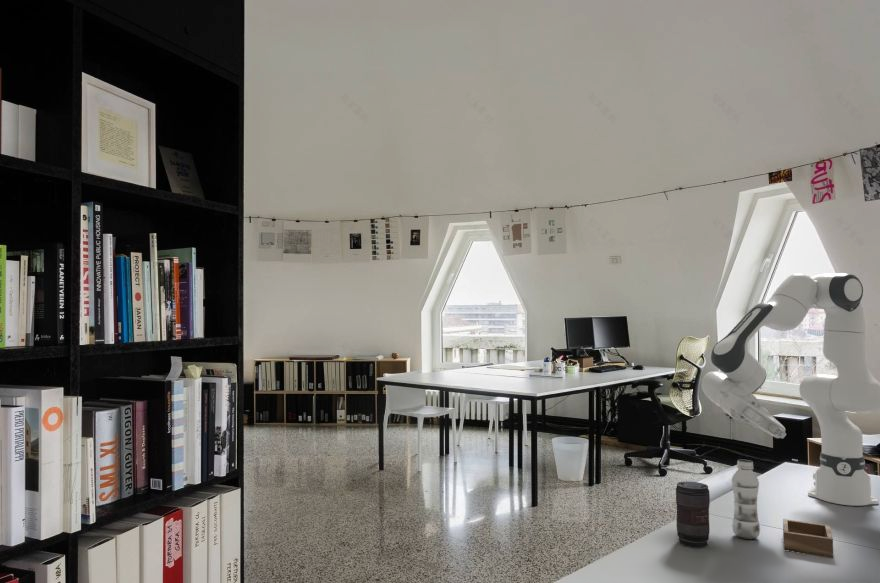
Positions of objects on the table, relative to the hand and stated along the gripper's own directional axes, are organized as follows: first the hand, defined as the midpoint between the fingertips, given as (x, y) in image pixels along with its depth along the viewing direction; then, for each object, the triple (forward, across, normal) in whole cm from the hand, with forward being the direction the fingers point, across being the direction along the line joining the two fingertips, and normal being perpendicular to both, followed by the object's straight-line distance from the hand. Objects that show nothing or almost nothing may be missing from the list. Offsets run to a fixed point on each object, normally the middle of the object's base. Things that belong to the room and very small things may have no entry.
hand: (771, 428), depth 175 cm
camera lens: (+13, -10, +35) cm, 39 cm away
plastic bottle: (+12, +5, +27) cm, 30 cm away
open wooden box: (+20, +13, +19) cm, 30 cm away
